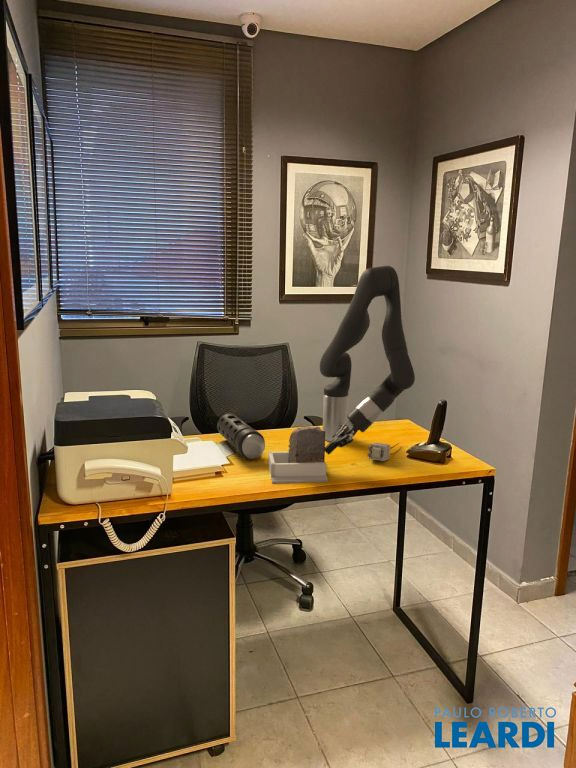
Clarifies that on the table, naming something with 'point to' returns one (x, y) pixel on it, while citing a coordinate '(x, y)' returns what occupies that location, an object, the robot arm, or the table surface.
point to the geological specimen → (307, 445)
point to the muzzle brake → (241, 436)
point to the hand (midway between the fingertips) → (326, 452)
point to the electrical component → (380, 451)
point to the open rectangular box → (294, 470)
